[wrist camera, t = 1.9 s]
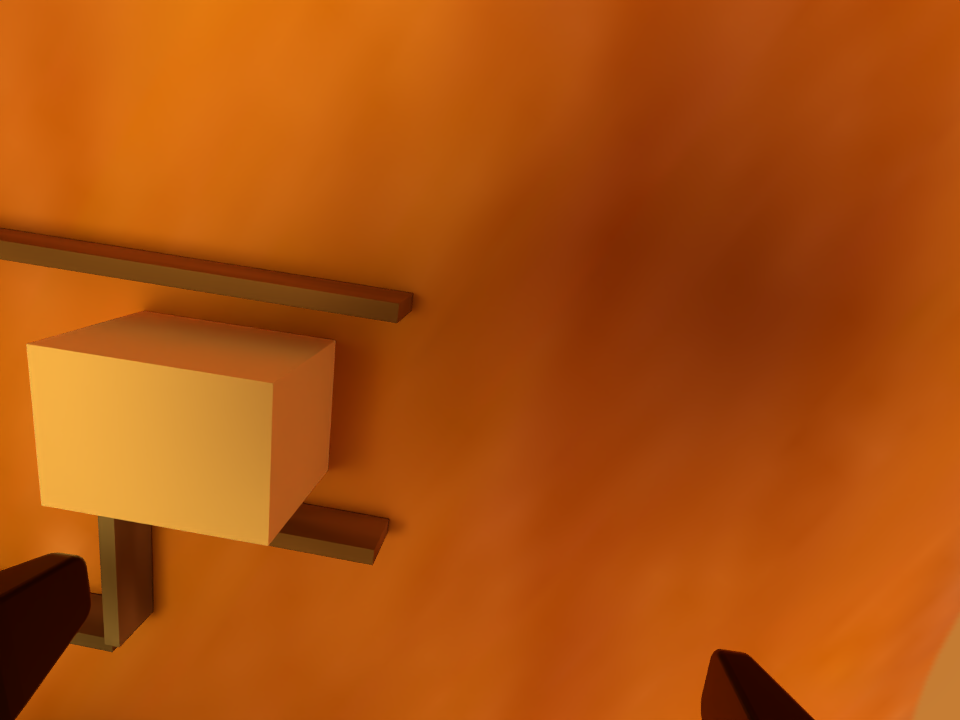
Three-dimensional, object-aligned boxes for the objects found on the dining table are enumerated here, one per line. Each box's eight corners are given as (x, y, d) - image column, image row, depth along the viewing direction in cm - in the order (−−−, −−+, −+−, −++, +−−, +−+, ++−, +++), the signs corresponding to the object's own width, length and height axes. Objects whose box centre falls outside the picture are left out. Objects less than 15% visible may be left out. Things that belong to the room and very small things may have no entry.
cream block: (328, 468, 22) (268, 545, 17) (150, 438, 22) (41, 505, 17) (336, 339, 20) (273, 383, 15) (145, 310, 21) (26, 343, 16)
